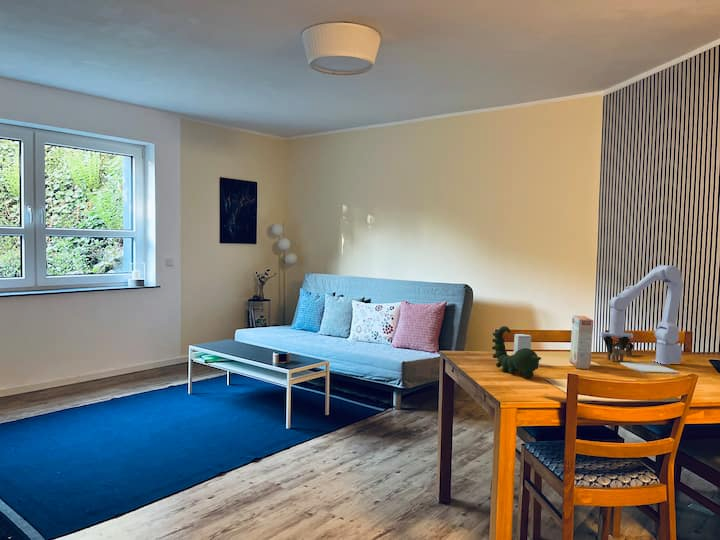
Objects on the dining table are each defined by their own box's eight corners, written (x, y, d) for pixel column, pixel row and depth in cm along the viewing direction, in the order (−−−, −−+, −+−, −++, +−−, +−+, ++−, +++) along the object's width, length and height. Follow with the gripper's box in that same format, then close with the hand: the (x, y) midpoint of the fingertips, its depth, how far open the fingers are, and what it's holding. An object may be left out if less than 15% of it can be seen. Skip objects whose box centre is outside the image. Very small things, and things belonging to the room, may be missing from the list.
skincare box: (517, 363, 224) (518, 335, 224) (512, 361, 229) (513, 333, 228) (530, 363, 225) (532, 335, 225) (525, 361, 230) (527, 333, 229)
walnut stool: (617, 359, 240) (617, 347, 240) (623, 362, 235) (623, 350, 235) (607, 359, 240) (607, 347, 240) (612, 361, 235) (613, 349, 235)
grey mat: (655, 364, 232) (655, 363, 232) (678, 373, 216) (679, 371, 216) (620, 363, 231) (620, 362, 231) (641, 372, 216) (641, 371, 215)
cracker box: (591, 370, 217) (594, 319, 216) (575, 369, 218) (578, 319, 217) (583, 363, 231) (586, 315, 230) (569, 361, 232) (571, 314, 231)
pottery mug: (624, 358, 246) (616, 342, 248) (611, 363, 254) (602, 347, 257) (642, 351, 250) (633, 335, 253) (628, 356, 259) (619, 340, 261)
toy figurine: (487, 372, 214) (531, 382, 191) (486, 325, 215) (530, 329, 192) (505, 370, 218) (550, 379, 195) (504, 324, 219) (549, 328, 196)
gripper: (627, 322, 241) (626, 351, 242) (597, 321, 240) (595, 351, 241) (636, 324, 234) (634, 355, 235) (604, 324, 233) (603, 354, 234)
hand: (615, 353), depth 237 cm, fingers closed on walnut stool, 5 cm apart
